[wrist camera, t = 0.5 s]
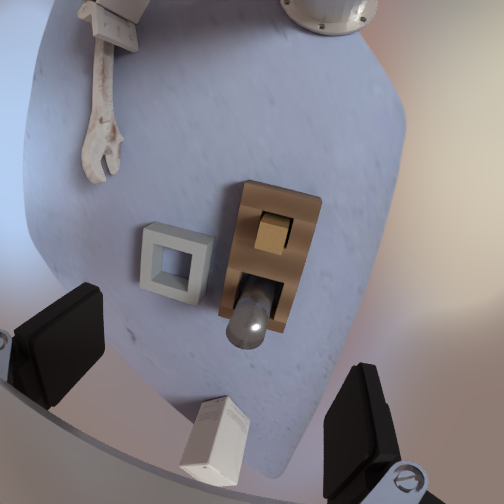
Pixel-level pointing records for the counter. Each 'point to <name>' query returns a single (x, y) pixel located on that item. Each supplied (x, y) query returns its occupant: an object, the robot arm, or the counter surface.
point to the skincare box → (216, 443)
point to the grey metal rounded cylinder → (251, 313)
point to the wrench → (102, 118)
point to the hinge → (114, 20)
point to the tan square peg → (272, 233)
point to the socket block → (266, 263)
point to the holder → (182, 241)
